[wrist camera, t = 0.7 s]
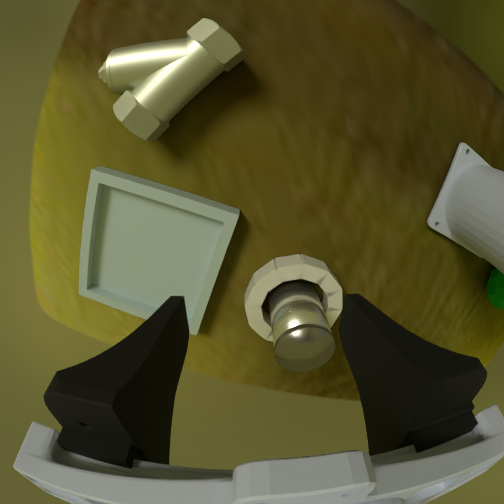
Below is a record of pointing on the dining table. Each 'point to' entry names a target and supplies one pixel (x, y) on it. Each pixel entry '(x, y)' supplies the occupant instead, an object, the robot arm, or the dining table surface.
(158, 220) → the tray
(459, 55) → the dining table surface
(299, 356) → the metal cylinder
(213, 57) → the pipe fitting
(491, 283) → the polyhedron
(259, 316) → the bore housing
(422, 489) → the robot arm
